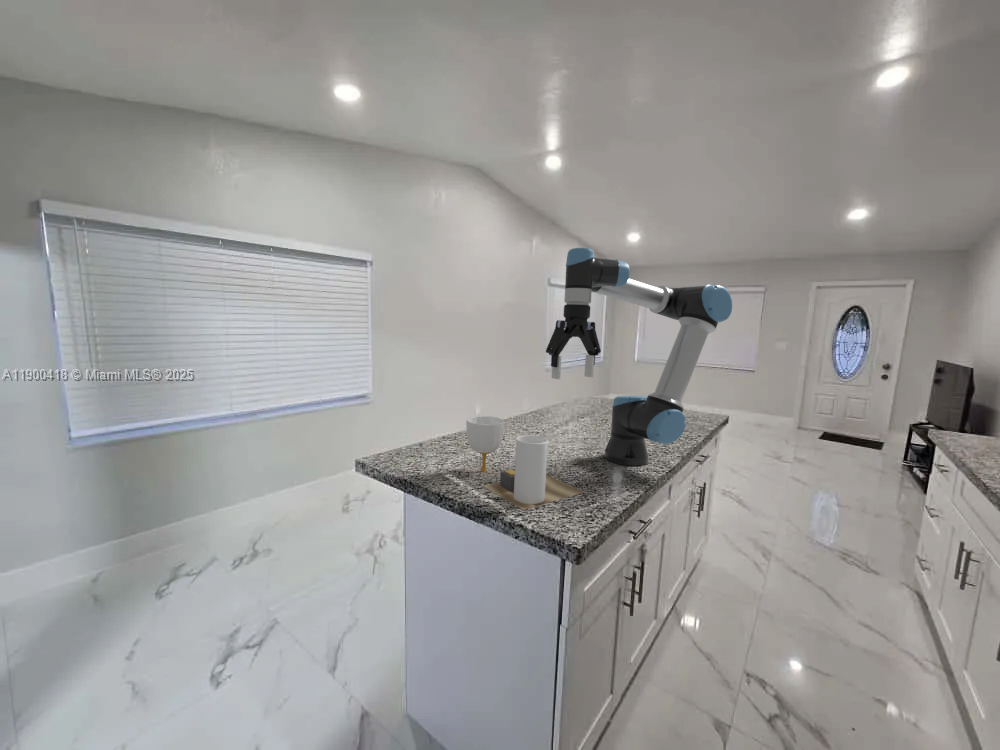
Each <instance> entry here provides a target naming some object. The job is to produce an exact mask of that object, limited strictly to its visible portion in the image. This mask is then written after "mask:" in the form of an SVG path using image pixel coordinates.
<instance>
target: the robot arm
mask: <svg viewBox="0 0 1000 750" xmlns="http://www.w3.org/2000/svg"><path fill="white" fill-rule="evenodd" d="M565 267H566V268H565V282H564V283H565V285H564V287H565V288H564V298H563V299H564V303H565V304H564V305H563V318H565V319H564V320H561V319H558V320H556V322H555V327H554V330H553V332H552V335H551V337H550V340H549V342H548V345H547V347H546V349H545V353H546V354H548V355H549V356H551V359H550V362H551V363H550V366H551V379H553V380H554V379H556V380H561V371H562V370H561V369H562V358H563V357H562V356H561V355H560V354H561V353H562V351H564V349H565V347H566V346H567V344H568V343H569V341H570V339H572V338H579V339H580V341H581V343H582V344H583V347H584V348H585V350H586V352H587V353H586V354H585V359H584V360H585V361H584V362H585V363H584V377H588V378H594V367H595V363H596V356H598V355H599V354H600V353H601V351H602V350H601V346H600V343H599V339H598V335H597V330H596V322H595V321H588V319H590V318H591V305H589V304H591V303H592V292H593V293H597V294H600V295H604V296H607V297H610V298H612V299H613V298H614V299H616V300H621V301H623V302H627V303H630V304H632V305H637V306H641V307H643V308H647V309H649V311H650V312H651V313H653V314H657V315H660V316H664V317H665V318H669V319H671V320H675V321H678V322H679V325H680V329H679V331H678V333H677V336H676V338H675V341H674V342H673V346H672V348H671V351H670V353H669V355H668V358H667V360H666V362H665V365H664V368H663V371H662V372H661V376H660V378H659V380H658V382H657V385H656V388H655V390H654V392H652V393H650V394H648V395H647V396H643V395H617V396H615V397H614V399H613V402H612V407H611V408H612V411H611V412H612V413H611V427H610V429H611V430H610V431H611V432H610V437H609V440H608V441H607V445H606V446H605V449H604V456H603V457H604V458H605V459H606V460H608V461H609V462H612V463H614V464H617V465H623V466H644V465H647V464H648V463H649V453H648V449H647V445H646V439H647V440H649V441H651V442H654V443H658V444H661V445H669V444H672V443H674V442H676V441H678V440H679V439H680V438H681V437H682V436H683V434H684V432H685V429H686V425H687V423H686V422H687V421H686V416H685V414H684V413H683V412H684V409H685V407H684V406H683V403H682V401H683V399H684V398H683V397H684V395H685V394H686V391H687V388H688V386H689V383H690V380H691V377H692V376H693V373H694V371H695V368H696V365H697V363H698V361H699V358H700V355H701V352H702V350H703V348H704V345H705V343H706V341H707V338H708V335H709V334H711V333H714V332H715V331H716V329H717V326H718V325H719V323H722V322H725V321H726V320H728V319H729V317H731V314H732V311H733V300H732V298H731V297H732V296H731V294H730V292H729V291H728V289H727V288H726V287H724V286H722V285H719V284H715V285H714V284H706V285H699V286H684V287H668V286H664V285H658V286H655V285H652V284H648V283H647V282H646V283H645V282H643V281H640V280H639V281H638V280H636V279H633V278H630V273H631V270H630V269H631V268H630V265H629V263H627V262H626V261H622V260H619V259H608V258H607V259H606V258H599V257H595V251H594V250H593V249H592V248H589V247H575V248H574V247H573V248H571V249H569V250H568V252H567V256H566V263H565Z"/></svg>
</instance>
